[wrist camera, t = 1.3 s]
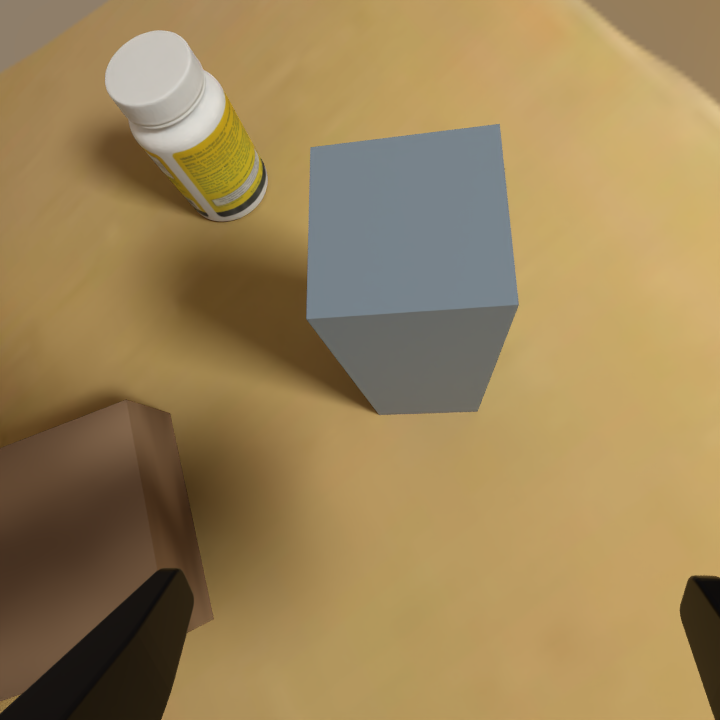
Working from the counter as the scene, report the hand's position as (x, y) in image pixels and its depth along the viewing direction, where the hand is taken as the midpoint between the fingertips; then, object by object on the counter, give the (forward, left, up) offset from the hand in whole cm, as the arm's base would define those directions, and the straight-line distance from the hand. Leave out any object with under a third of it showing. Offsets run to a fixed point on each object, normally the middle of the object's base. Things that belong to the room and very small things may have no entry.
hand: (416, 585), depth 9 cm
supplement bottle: (+21, +5, -13) cm, 26 cm away
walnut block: (+4, +15, -14) cm, 21 cm away
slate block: (+7, -2, -13) cm, 15 cm away
